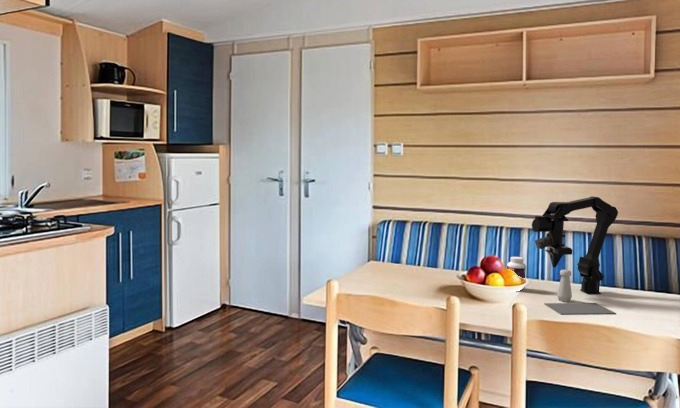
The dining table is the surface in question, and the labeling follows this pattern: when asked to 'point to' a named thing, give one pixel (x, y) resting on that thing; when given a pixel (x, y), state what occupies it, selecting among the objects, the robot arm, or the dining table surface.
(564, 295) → the salt shaker
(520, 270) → the pill bottle
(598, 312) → the mat
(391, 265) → the dining table surface
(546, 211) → the robot arm
